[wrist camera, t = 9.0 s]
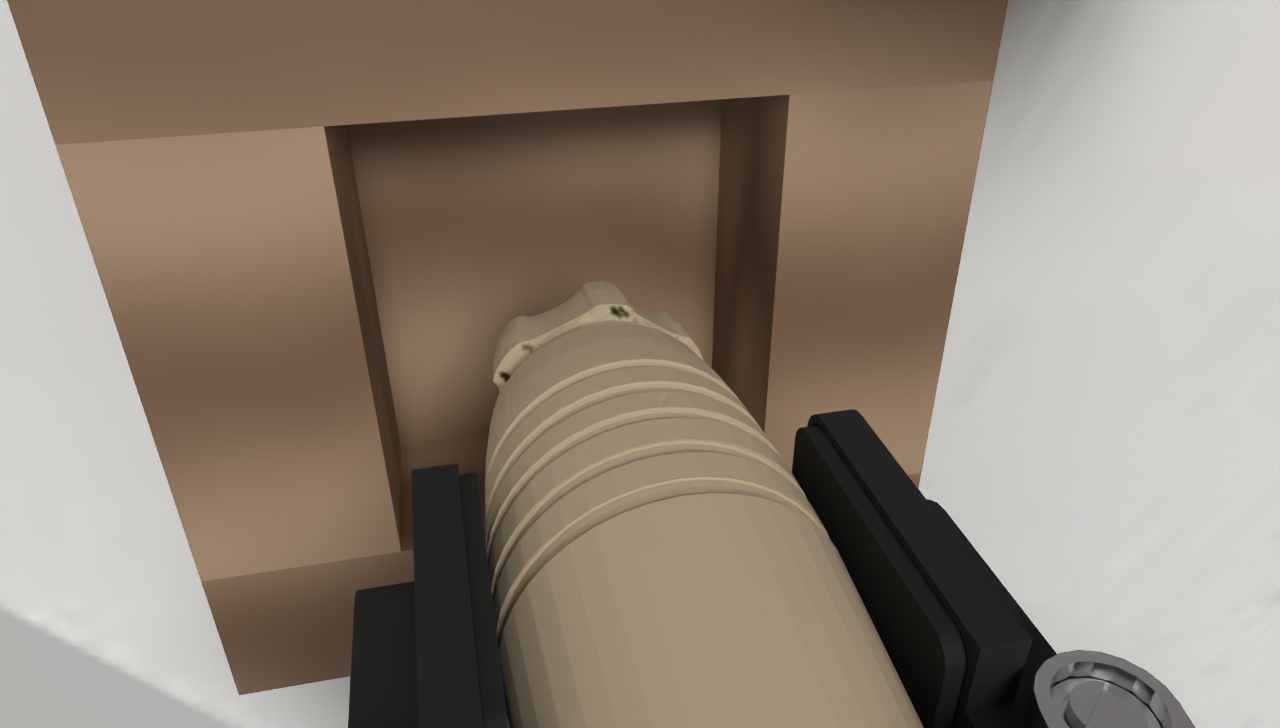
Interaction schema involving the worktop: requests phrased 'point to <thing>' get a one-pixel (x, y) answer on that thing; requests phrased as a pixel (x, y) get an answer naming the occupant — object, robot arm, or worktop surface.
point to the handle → (660, 543)
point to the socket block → (489, 238)
